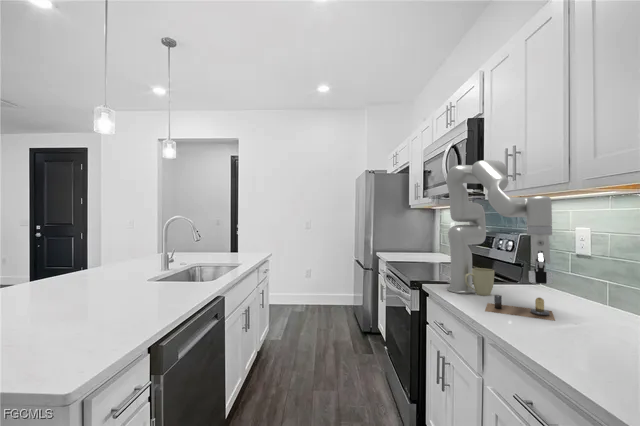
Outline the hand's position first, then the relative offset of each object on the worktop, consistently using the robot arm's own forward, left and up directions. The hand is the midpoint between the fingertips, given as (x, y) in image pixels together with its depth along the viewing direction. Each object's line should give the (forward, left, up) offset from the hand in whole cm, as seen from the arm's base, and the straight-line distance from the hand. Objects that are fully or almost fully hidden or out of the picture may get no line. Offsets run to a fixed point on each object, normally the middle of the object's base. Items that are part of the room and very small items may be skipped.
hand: (540, 281), depth 115 cm
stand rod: (-10, -9, -12) cm, 18 cm away
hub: (0, 0, -12) cm, 12 cm away
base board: (-5, -5, -13) cm, 14 cm away
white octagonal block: (0, 0, 0) cm, 0 cm away
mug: (-30, 0, -13) cm, 33 cm away
